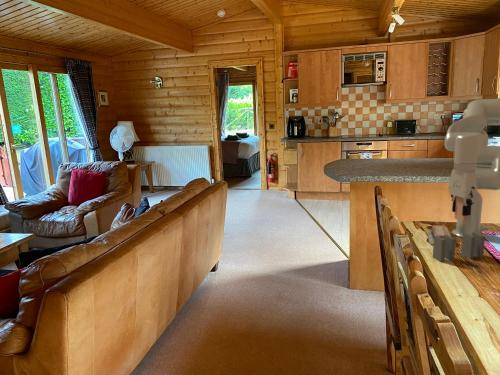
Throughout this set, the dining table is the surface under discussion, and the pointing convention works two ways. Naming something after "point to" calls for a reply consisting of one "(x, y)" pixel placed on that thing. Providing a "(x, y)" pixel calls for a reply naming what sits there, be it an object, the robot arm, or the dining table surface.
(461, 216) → the domino
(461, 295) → the dining table surface
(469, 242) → the domino
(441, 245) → the domino
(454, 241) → the domino
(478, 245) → the domino
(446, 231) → the packaged product
